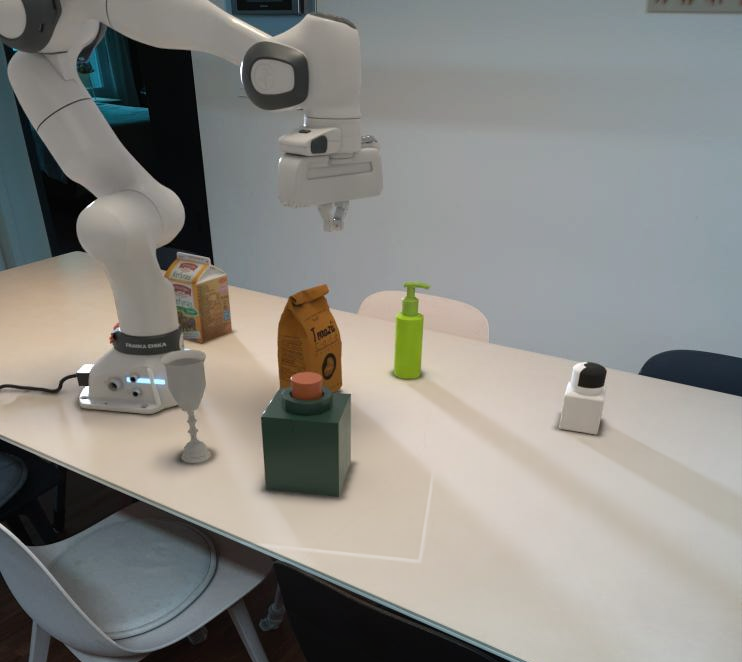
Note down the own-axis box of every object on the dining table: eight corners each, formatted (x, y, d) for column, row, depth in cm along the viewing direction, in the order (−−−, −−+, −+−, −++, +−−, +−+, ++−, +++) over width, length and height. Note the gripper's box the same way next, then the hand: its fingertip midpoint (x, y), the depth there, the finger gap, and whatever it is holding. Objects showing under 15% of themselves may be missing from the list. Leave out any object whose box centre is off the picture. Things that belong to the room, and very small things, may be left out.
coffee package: (349, 392, 150) (350, 286, 138) (309, 412, 141) (306, 300, 130) (314, 380, 155) (311, 277, 143) (273, 398, 146) (266, 290, 135)
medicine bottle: (599, 420, 141) (611, 361, 134) (597, 435, 135) (609, 375, 129) (562, 414, 143) (572, 356, 136) (558, 429, 137) (568, 369, 130)
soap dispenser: (423, 380, 156) (428, 288, 145) (391, 377, 157) (394, 285, 147) (426, 370, 161) (432, 280, 150) (396, 367, 162) (399, 278, 151)
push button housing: (265, 489, 116) (259, 404, 108) (282, 457, 125) (278, 376, 117) (339, 496, 115) (338, 410, 107) (350, 463, 124) (351, 382, 116)
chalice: (195, 470, 121) (182, 369, 112) (166, 459, 124) (151, 360, 115) (225, 452, 126) (215, 355, 117) (196, 442, 129) (184, 346, 120)
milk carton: (232, 331, 181) (225, 253, 171) (202, 343, 173) (193, 262, 163) (201, 323, 186) (192, 247, 176) (170, 335, 178) (160, 256, 168)
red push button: (288, 400, 111) (287, 382, 109) (295, 388, 115) (295, 370, 113) (319, 402, 110) (318, 384, 108) (325, 390, 114) (324, 373, 113)
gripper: (365, 132, 121) (364, 219, 128) (269, 139, 108) (274, 235, 115) (393, 135, 117) (390, 225, 124) (297, 143, 104) (300, 242, 112)
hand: (333, 230), depth 120 cm, fingers closed
